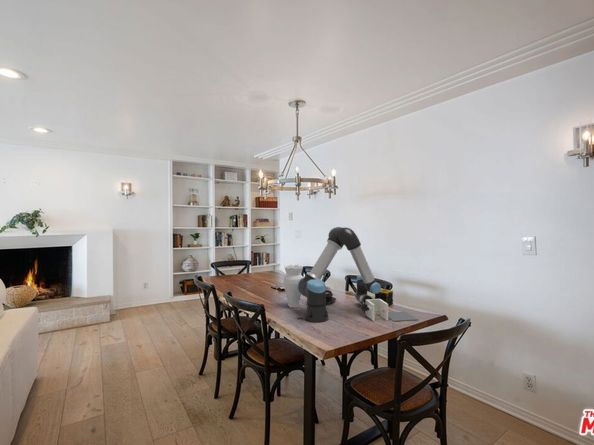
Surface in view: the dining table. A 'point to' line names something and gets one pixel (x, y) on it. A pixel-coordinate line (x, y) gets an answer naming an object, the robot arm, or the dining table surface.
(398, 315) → the mat
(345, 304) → the dining table surface
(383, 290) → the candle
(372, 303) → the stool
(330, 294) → the casserole
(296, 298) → the vase
